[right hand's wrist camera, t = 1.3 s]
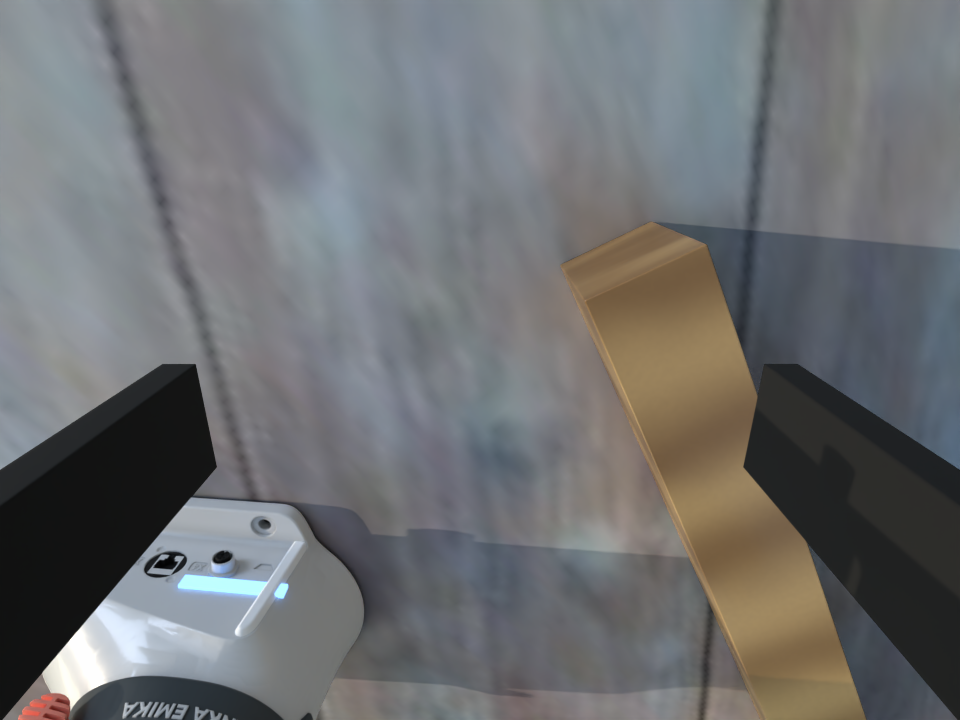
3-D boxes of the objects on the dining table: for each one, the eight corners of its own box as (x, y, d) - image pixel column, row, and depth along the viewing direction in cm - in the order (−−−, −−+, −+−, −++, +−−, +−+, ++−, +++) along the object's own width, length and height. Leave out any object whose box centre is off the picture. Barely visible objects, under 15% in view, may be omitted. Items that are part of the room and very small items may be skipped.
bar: (559, 264, 31) (584, 300, 23) (651, 220, 30) (707, 243, 22) (785, 776, 47) (841, 892, 40) (849, 758, 46) (918, 874, 39)
